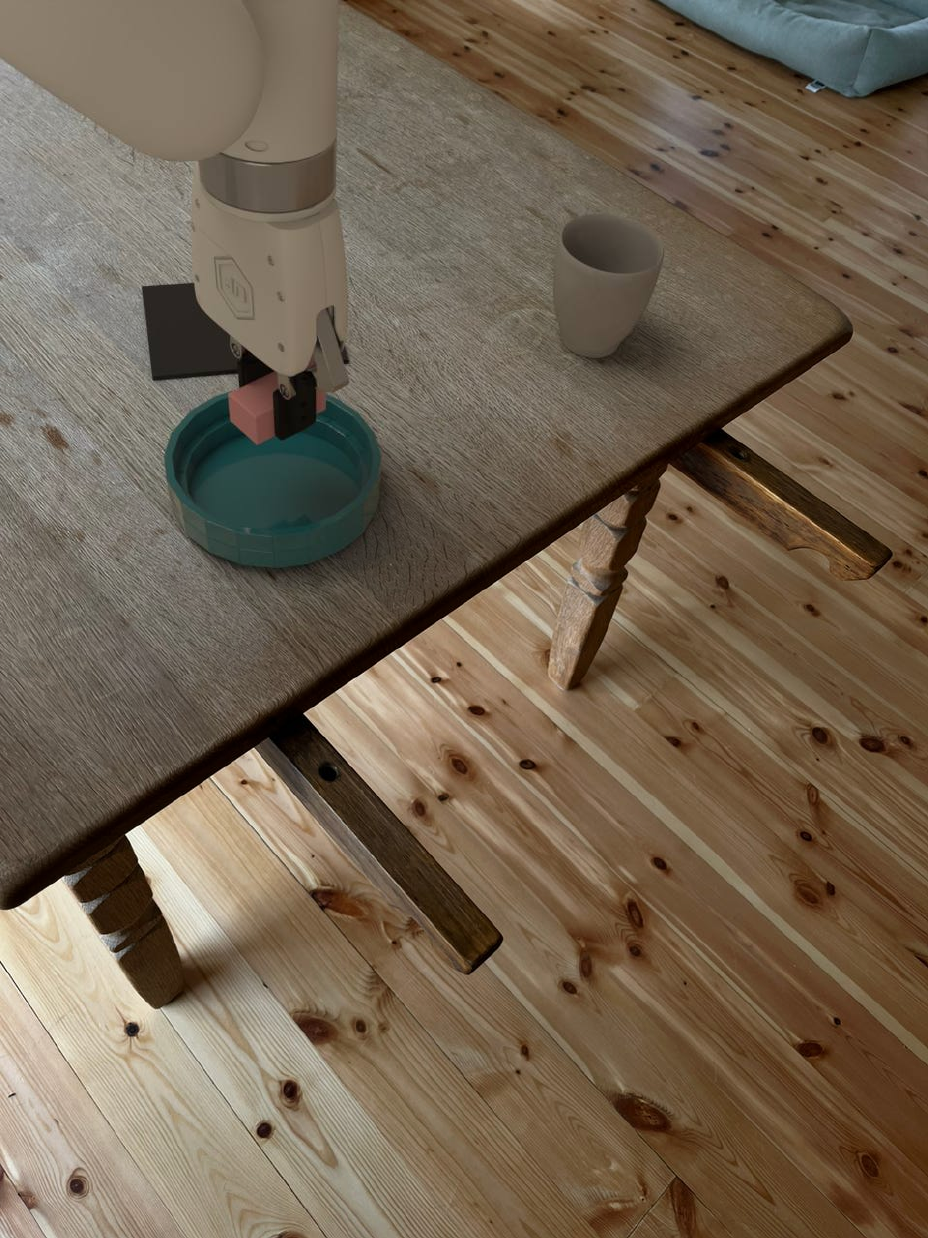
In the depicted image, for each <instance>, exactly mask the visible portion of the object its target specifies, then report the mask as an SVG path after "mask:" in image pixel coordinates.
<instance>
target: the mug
mask: <svg viewBox="0 0 928 1238" xmlns="http://www.w3.org/2000/svg"><path fill="white" fill-rule="evenodd" d="M664 258H665V248H664V245H663V243H662V241H661V239H660V237H659V236H658V234H657V233H655V232H654V231H653V230H652V229H651V228H649V227H648V226H647V225H645V224H643V223H642V222H639V221H637V220H634V219H632V218H631V217H628V216H623V215H619V214H615V213H603V212H601V213H600V212H599V213H598V212H597V213H588V214H587V213H586V214H584V215H580V216H577V217H575V218H573V219H571V220H570V221H568V222H567V223H566V224H565V225H564V226H563V227H562V229H561V230H560V233H559V235H558V240H557V244H556V250H555V257H554V263H553V273H552V301H553V309H554V314H555V319H556V322H557V325H558V329H559V338H560V340H561V343H562V344H563V346H564V347H565V348H566V349H567V350H568V351H570V352H572V353H574V354H576V355H578V356H581V357H584V358H590V359H601V358H605V357H608V356H610V355H612V354H613V353H615V352H616V351H617V349H618V347H619V346H620V345H621V343H622V342H623V341H624V340H625V339H626V338H627V336H628V335H629V334H630V333H631V332H632V331H633V329H634V328H635V327H636V325H638V322H639V321H640V319H642V316H643V314H644V312H645V311H646V309H647V307H648V305H649V303H650V300H651V298H652V296H653V293H654V291H655V288H656V286H657V282H658V280H659V277H660V274H661V270H662V267H663V264H664Z"/></svg>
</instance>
